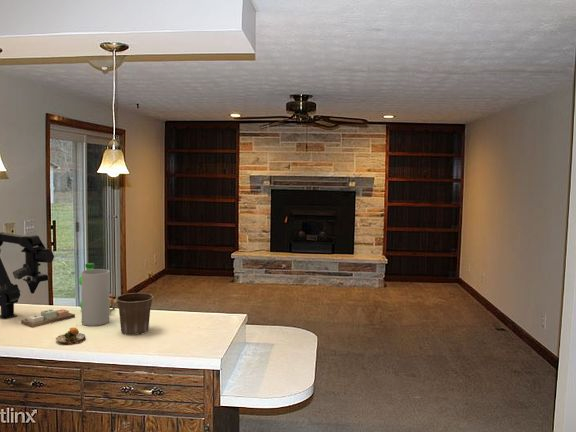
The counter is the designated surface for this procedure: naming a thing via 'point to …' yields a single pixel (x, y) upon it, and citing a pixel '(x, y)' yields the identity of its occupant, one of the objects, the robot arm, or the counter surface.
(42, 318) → the tile one pip
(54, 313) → the tile two pips
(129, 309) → the plant pot
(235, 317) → the counter surface
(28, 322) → the walnut board
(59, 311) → the tile three pips
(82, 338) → the mossy decorative centerpiece
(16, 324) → the counter surface
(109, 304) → the lion figurine
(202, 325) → the counter surface
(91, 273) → the cylinder vase
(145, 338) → the counter surface
